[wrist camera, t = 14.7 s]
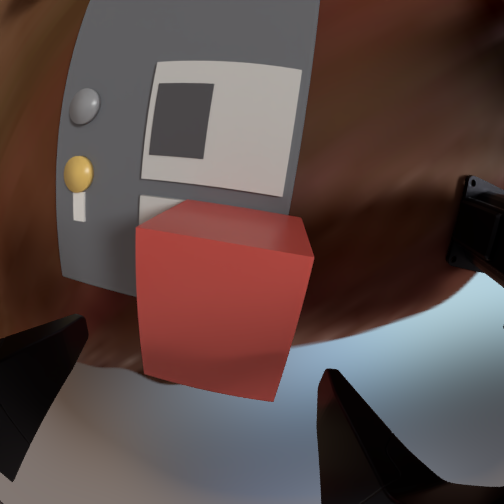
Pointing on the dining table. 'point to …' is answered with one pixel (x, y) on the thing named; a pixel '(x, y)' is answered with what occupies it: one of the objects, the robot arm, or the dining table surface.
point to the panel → (176, 119)
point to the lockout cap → (220, 296)
